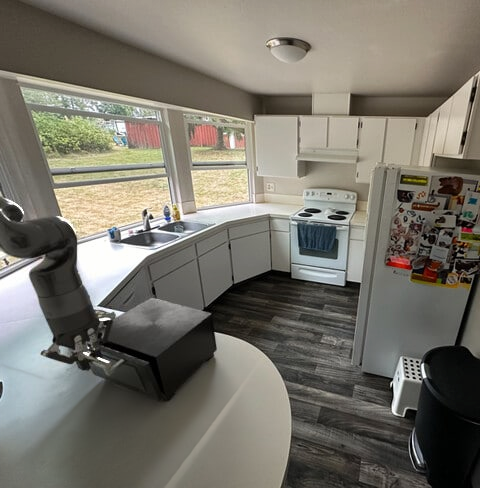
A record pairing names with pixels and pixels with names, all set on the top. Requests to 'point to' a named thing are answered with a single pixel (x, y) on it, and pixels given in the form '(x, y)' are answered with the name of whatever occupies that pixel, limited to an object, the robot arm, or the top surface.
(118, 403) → the top surface
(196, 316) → the oven
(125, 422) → the top surface
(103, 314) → the food container
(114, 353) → the oven door
